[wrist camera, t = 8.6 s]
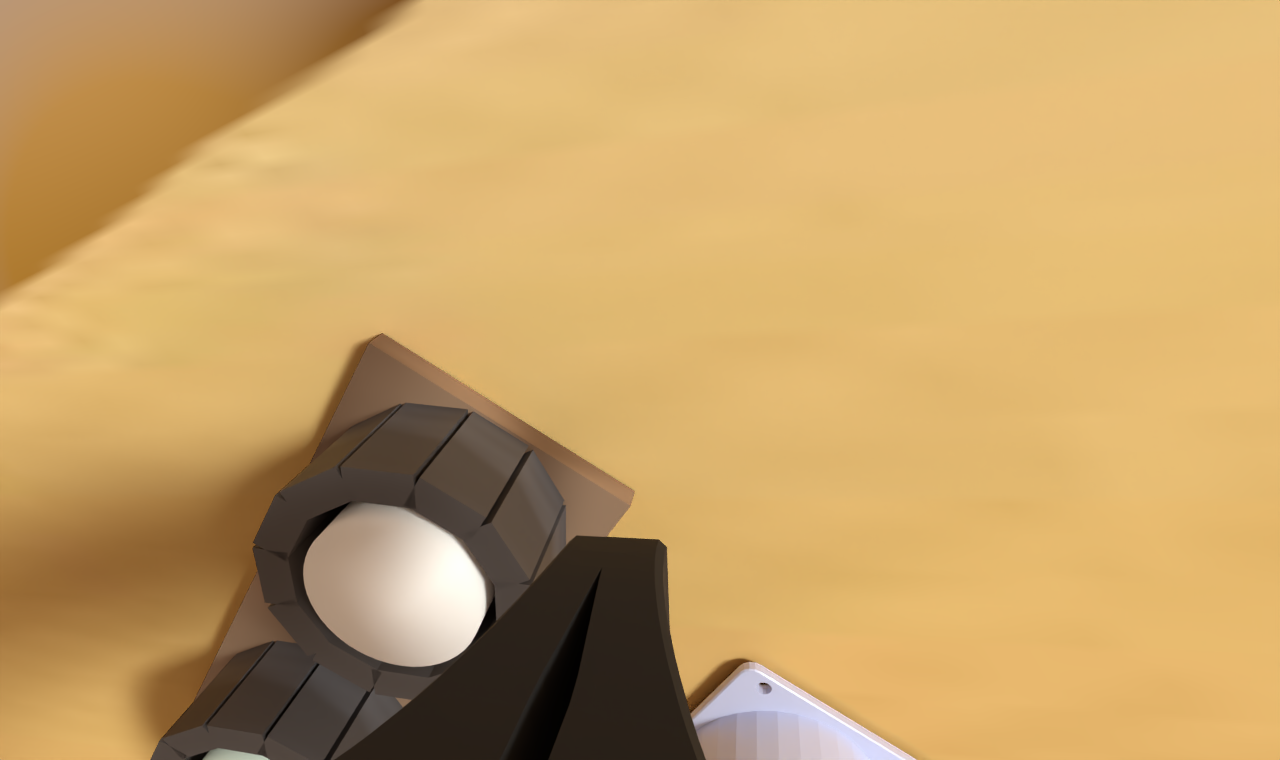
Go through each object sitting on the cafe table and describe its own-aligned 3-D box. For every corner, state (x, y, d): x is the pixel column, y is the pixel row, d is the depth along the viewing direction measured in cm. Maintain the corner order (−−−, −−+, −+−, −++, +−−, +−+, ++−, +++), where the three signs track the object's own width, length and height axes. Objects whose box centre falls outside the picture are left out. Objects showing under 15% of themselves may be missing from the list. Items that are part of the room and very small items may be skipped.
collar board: (634, 491, 22) (607, 587, 18) (388, 806, 30) (331, 921, 26) (382, 333, 21) (293, 397, 17) (199, 703, 29) (109, 805, 25)
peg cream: (548, 509, 21) (512, 586, 18) (476, 609, 24) (433, 693, 20) (404, 421, 21) (342, 484, 18) (344, 531, 23) (278, 606, 20)
